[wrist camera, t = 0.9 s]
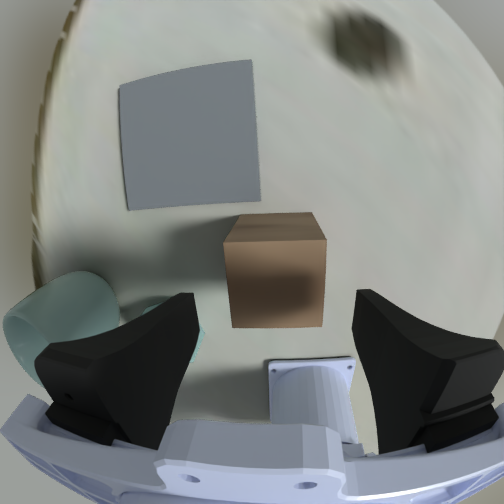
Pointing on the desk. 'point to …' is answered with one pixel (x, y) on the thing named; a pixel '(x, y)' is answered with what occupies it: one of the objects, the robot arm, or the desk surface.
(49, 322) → the cup
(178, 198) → the slate coaster
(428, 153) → the desk surface
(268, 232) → the walnut block
